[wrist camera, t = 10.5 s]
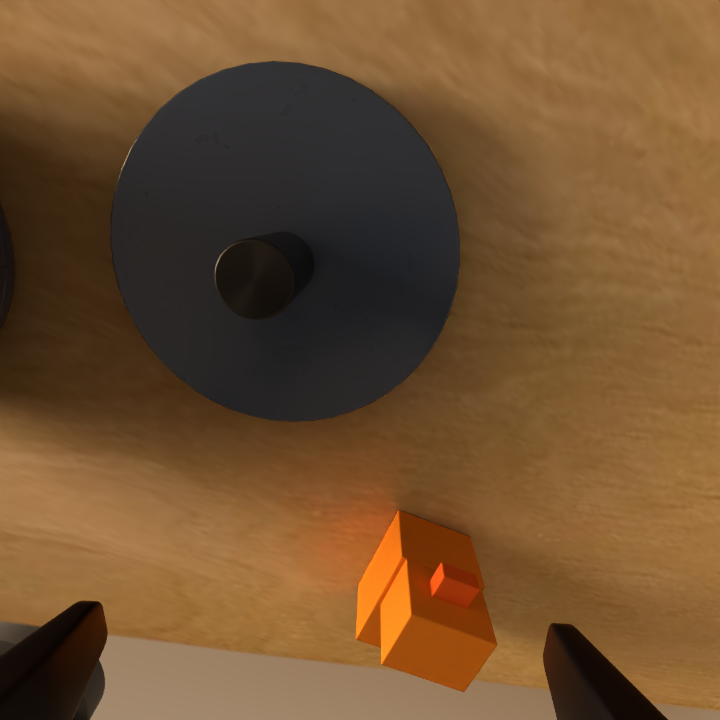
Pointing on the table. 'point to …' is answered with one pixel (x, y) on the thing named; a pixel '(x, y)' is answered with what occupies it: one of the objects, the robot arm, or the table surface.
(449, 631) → the duck
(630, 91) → the table surface
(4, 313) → the pot
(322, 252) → the lid
